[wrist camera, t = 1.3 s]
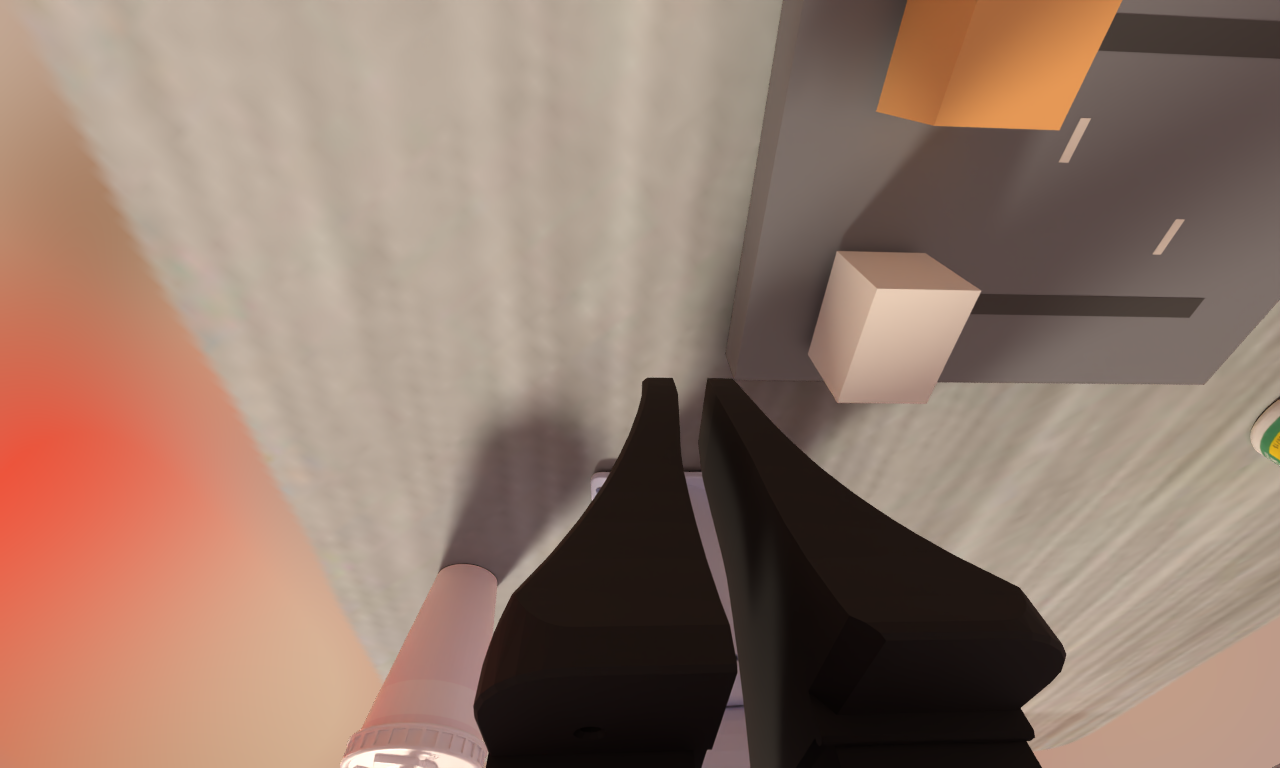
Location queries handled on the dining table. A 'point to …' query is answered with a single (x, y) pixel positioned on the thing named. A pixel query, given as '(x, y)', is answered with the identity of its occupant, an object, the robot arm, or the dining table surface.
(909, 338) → the off white fader
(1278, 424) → the supplement bottle
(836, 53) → the fader console
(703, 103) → the dining table surface
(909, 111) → the block
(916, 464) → the dining table surface
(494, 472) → the dining table surface
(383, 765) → the smoothie
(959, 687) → the robot arm
